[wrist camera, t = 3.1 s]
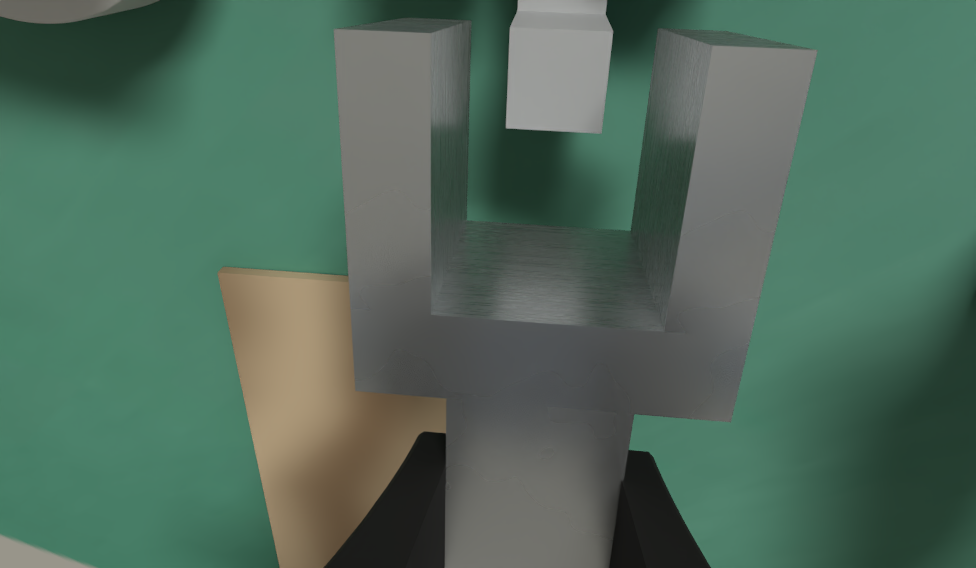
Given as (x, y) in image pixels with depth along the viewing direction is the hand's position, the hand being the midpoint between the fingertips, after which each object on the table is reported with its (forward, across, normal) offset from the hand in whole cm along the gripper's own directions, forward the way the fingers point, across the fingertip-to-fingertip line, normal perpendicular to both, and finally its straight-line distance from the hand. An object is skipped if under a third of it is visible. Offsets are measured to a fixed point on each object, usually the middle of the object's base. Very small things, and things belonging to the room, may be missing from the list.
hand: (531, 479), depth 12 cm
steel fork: (+3, 0, 0) cm, 3 cm away
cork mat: (+9, +7, +10) cm, 15 cm away
